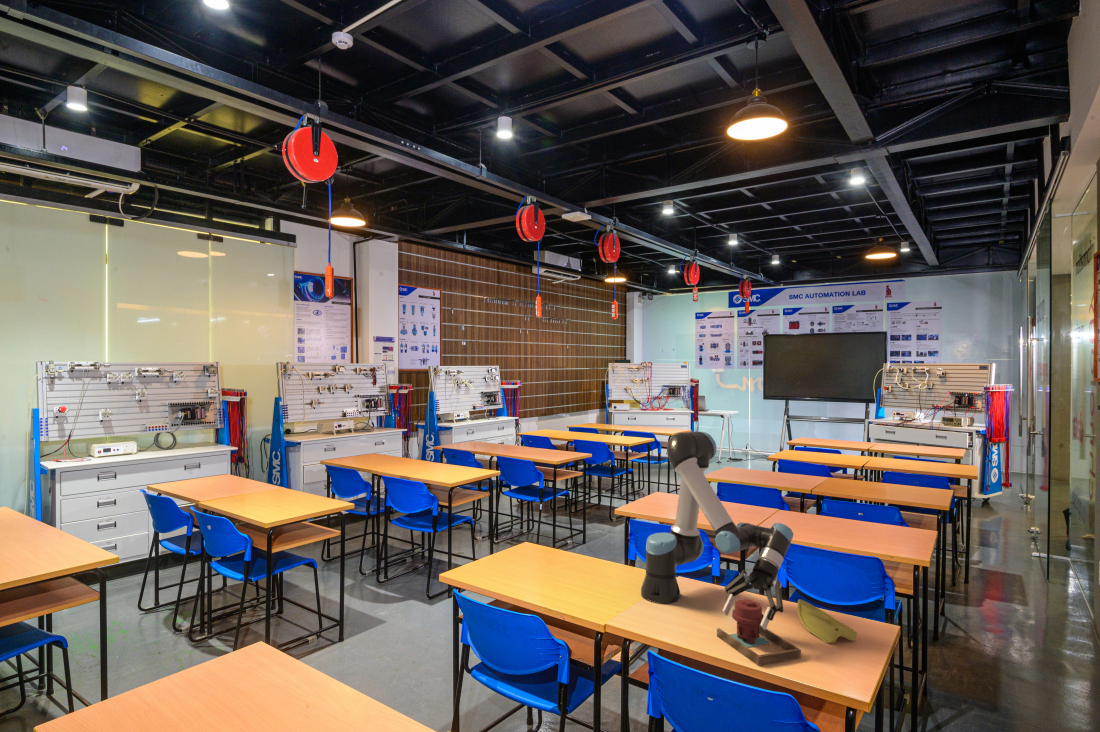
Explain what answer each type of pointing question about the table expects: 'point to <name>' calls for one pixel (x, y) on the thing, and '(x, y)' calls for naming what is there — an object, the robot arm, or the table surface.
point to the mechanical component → (747, 619)
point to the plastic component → (823, 623)
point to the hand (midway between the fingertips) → (743, 620)
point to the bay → (764, 659)
